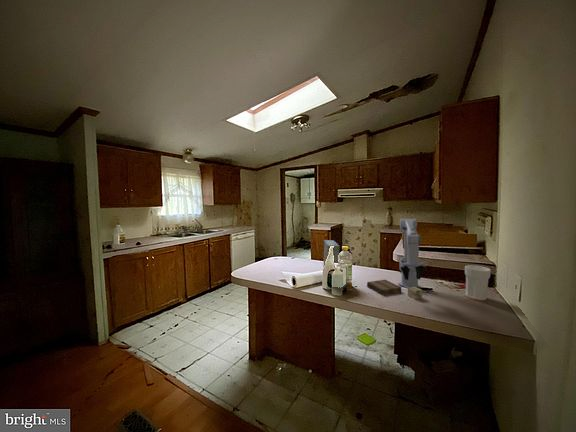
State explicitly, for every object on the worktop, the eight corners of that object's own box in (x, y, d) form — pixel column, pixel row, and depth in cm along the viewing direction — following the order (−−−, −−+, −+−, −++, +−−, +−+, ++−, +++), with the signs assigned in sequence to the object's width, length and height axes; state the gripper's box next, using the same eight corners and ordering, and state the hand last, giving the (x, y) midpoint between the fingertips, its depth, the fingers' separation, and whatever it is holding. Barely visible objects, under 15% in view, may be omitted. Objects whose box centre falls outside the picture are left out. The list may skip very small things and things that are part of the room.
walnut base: (384, 283, 154) (384, 279, 153) (401, 292, 140) (401, 287, 140) (367, 286, 149) (367, 282, 149) (382, 295, 136) (382, 290, 136)
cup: (458, 295, 135) (460, 266, 133) (470, 292, 139) (472, 264, 138) (480, 303, 124) (482, 272, 123) (493, 299, 129) (495, 269, 127)
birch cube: (414, 294, 136) (414, 286, 136) (421, 298, 132) (421, 289, 131) (407, 296, 135) (407, 287, 134) (414, 299, 130) (415, 291, 130)
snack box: (339, 283, 156) (340, 245, 154) (326, 283, 156) (327, 245, 154) (334, 272, 177) (334, 239, 175) (322, 272, 178) (322, 239, 176)
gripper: (406, 257, 126) (405, 281, 126) (429, 256, 129) (428, 280, 129) (398, 254, 133) (397, 278, 133) (420, 254, 136) (419, 277, 136)
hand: (412, 279), depth 131 cm, fingers open, 7 cm apart
